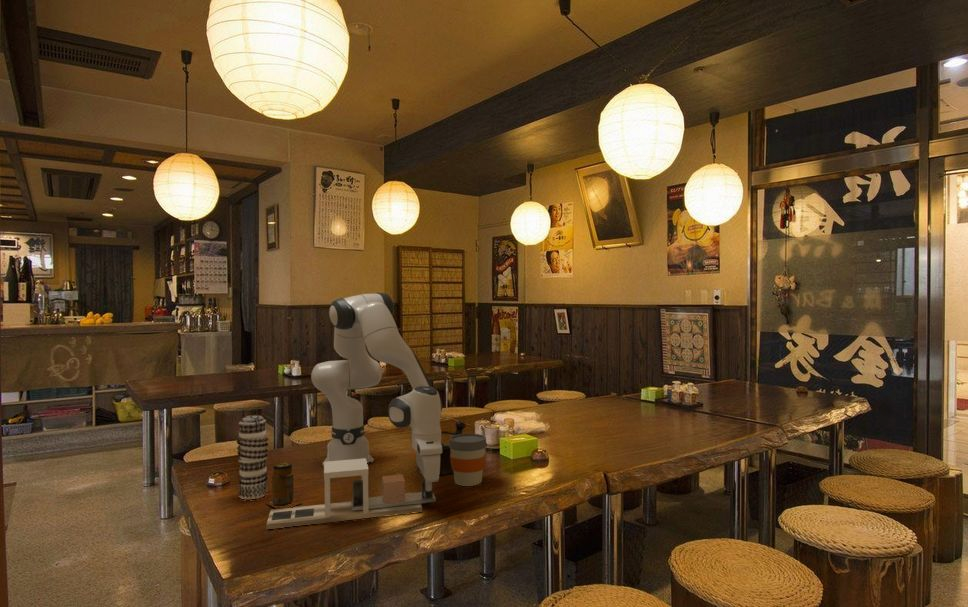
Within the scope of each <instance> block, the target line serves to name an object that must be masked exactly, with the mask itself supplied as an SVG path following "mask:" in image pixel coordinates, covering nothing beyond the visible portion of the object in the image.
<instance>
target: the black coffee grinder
mask: <svg viewBox="0 0 968 607" xmlns="http://www.w3.org/2000/svg"><path fill="white" fill-rule="evenodd" d="M454 426H455V432H452V431H445V430H441V434H444V435H445V434H447V435H451V436H454V435H458V434H463V431H464V430H465V429H466V427H467V426H466V422H464V421H463V420H458V421H455V423H454ZM441 445H442V454H440V475H442V476H444V475H443V474H447V475H450V474H449V473H451V474H454V473H453V469H452V466H451V459H450V454H451V450H450V447H449V444H448V443H447V442H444V441H443V440H441ZM417 469H418V470H419V471H420V469H419V467H418V465H417V464H416V470H417ZM418 470H417V471H418ZM419 471H418V472H419ZM420 472H421V471H420ZM420 472H419V473H420Z"/></svg>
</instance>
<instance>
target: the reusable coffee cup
mask: <svg viewBox="0 0 968 607" xmlns="http://www.w3.org/2000/svg"><path fill="white" fill-rule="evenodd" d="M448 445H449V447H450V450H451V454H450V459H451V466H452V469H453V472H454V473H453V478H454V479H453V480H454V484H455V483H456V484H458V485H462V486H473V485H477V484H479V483H481V482H482V483H483V475H484V469H485V465H486V459H487V458H486V457H487V453H486V448H487V438H486V436H485V435H482V434H478V433H462V434H458V435H451V436H450V437H449V444H448ZM482 483H481V484H482ZM456 484H455V485H456Z"/></svg>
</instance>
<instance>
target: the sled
mask: <svg viewBox="0 0 968 607" xmlns="http://www.w3.org/2000/svg"><path fill="white" fill-rule="evenodd" d="M433 486H434V485H433V484H432V490H431V491H426V489H425V478H424V476H423V475H422V474H421V491H419V492H409V493H406V480H405V478H404V475H403V474H392V475H383V476H381V487H382V488H381V493H382V494H381V495H379V496H370V497H369V496H368V508H369V509H374V508H383V507H392V506H401V505H410V504H427V503H435V502H437V498H436V496H435V494H434V490H433V489H434V488H433ZM350 500H351V505H352V511H356V510H363V480H361V479H357V480H353V481H352V499H350Z"/></svg>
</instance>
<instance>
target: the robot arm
mask: <svg viewBox="0 0 968 607" xmlns="http://www.w3.org/2000/svg"><path fill="white" fill-rule="evenodd" d="M328 312H329V319H330V322H331V324H332V326H333V327H334V331H333V332H334V334H333V349H334V351H335V352H336V353H337V354H338V355H339V356H340V357H341V358H344V359H343V360H342V359H341V360H328V361H327V360H326V361H323V362H320V363H319V362H318V363H317V364H315V366H314V367H313V369H312V370H311V375H310V376H311V382H312V384H313V386H314V387H315V388H316V389H317V391H320V392H321V393H323V395H324V396H325V397H326V398H327V399H328V401H329V405H330V407H331V413H332V414H331V417H332V427H331V440H329V442H328V443H327V445H326V450H327V454H326V455H327V457H326V458H325V459H324V461H322V465H323V466H322V465H321V466H322V467H324V462H328V461H340V460H351V459H363V458H366V460H367V463H368V462H371V463H373V462H372V461H374V462H375V458H373V456H371V455H370V448H369V445H370V444H369V443H370V442H369V439H368V438H366V437H365V431H366V430H365V424H364V407H363V405H362V403H361V401H360V400H358V399H356V398H353V397H351V396H349V395H347V393H346V392H347V390H357V389H361V390H362V389H367V388H371V387H375V386H378V385H379V383H380V381H381V380H382V377H383V369H382V366H381V365H380V364H379V362H380V363H384V364H388V365H391V366H394V367H396V368H398V369H400V370H401V371H402V372H403V373H404V374H405V376H406V378H407V379H408V383H409V384H410V386H411V387H412V390H411V391H410V392H408V393H406V394H403V395H400V396H397V397H395V398H392V399H391V401H390V402H389V404H388V408H387V417H388V420H389V421H390V422H391V424H392V425H393V426H394V427H396V428H401V429H403V428H405V429H406V428H411V449H412V450H414V451H415V458H416V466H417V465H418V467H419V469H420V471H421V473H422V474H421V473H420V474H421V476H422V475H423V476H424V478H425V489H426V491H431V490H432V485H433V483H436V482H439V479H440V476H439V475H440V454H442V445H441V441H442V433H441V431H442V428H441V419H442V411H443V403H442V399H441V397H440V393H439V391H438V390H437V389H436V388H434V387H433V386H432V384H431V382H430V380H429V378H428V376H427V374H426V372H425V370H424V368H423V366H422V363H421V362H420V360H419V357H418V356H417V355H416V352H414V350H413V349H412V348H411V347H410V346H408V344H407V343H406V342H405V340H404V338H402V336H401V334H400V332H399V330H398V326H397V324H396V322H395V319H394V317H393V316H394V313H395V304H394V301H393V299H392V297H391V296H390V295H389V294H388V293H385V292H376V293H360V294H358V295H352V296H348V297H347V296H346V297H339V298H337V299H335V300H333V301H332V302H331V304H330V305H329V310H328ZM367 351H368V352H367ZM378 361H379V362H378ZM368 464H369V463H368Z"/></svg>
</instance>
